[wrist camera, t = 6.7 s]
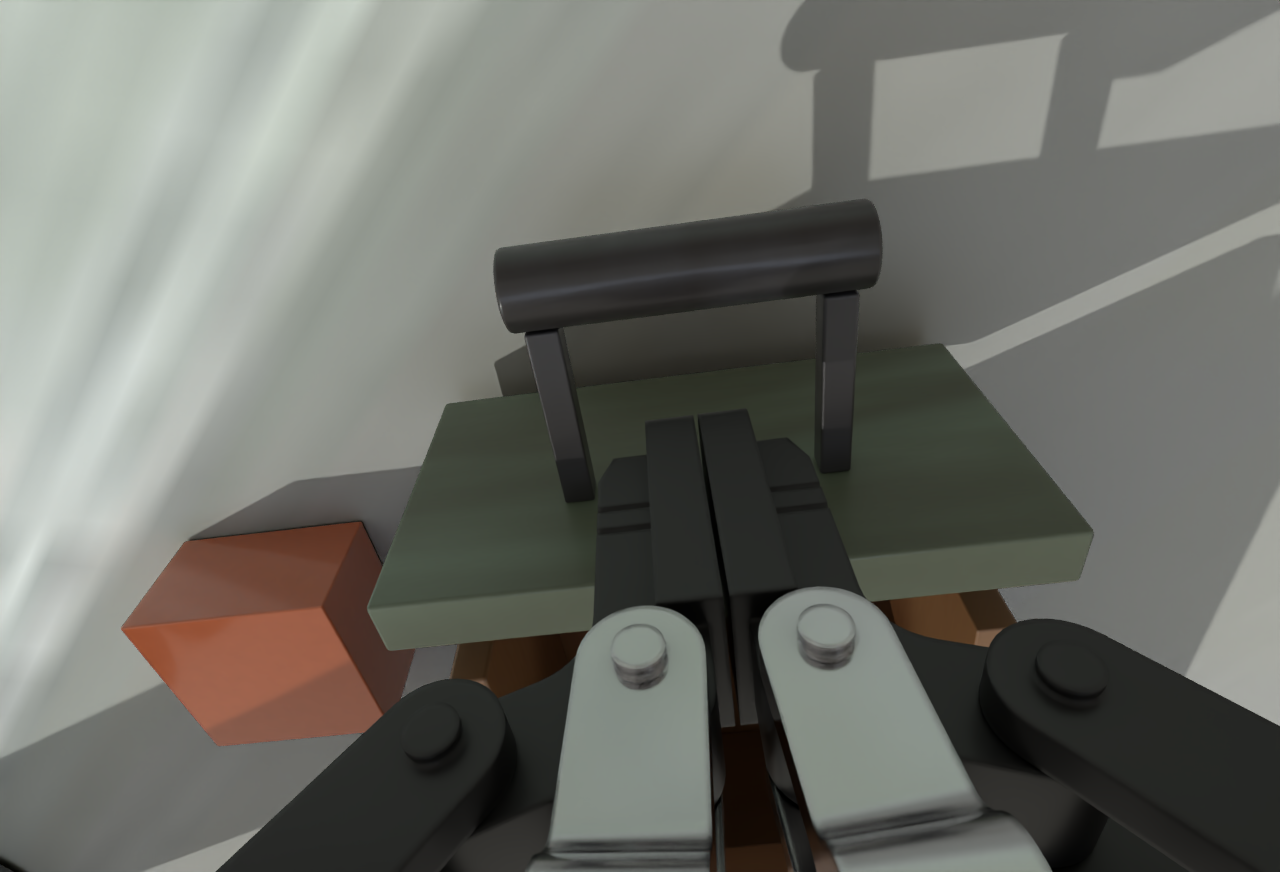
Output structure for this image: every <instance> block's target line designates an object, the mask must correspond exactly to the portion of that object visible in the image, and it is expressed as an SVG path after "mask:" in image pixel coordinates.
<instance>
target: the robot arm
mask: <svg viewBox="0 0 1280 872" xmlns="http://www.w3.org/2000/svg"><path fill="white" fill-rule="evenodd" d="M697 417H698V429H699V439H700V449H701V458H700V452H699V446H698V440H697V434H696V427H695V421H694V416H693V415H687V416H679V417H671V418H663V419H655V420H647V421H645V434H646V452H647V455H638V456H630V457H622V458H614V459H613V460H612V462H611V463H610V465H609V466H608V468H607V470H606V471H605V473H604V474H603V476H602V477H601V479H600V481H599V482H598V513H597V535H596V561H595V588H594V615H593V624H592V628H591V629H590V630H589V631H588V632H587V634H586V635H585V637H584V638H583V640H582V641H581V643H580V645H579V648H578V650H577V654H576V656H575V657H574V658H573V659H572V660H571V661H570V662H569V663H568V664H567V665H565V666H564V667H563V668H562V669H560V670H559V671H557V672H556V673H554V674H553V675H551V676H549V677H547V678H545V679H543V680H541V681H539V682H536V683H534V684H531V685H529V686H526V687H524V688H522V689H519V690H517V691H514V692H512V693H509V694H507V695H504V696H502V697H499V698H497V697H496V695H495V694H494V693H493V692H492V691H491V690H490V689H489V688H487V687H486V686H484V685H482V684H480V683H478V682H475V681H472V680H468V679H445V680H440V681H436V682H433V683H430V684H427V685H424V686H422V687H420V688H418V689H416V690H414V691H412V692H411V693H409V694H408V695H406V696H405V697H403V698H402V699H401V700H399V701H398V702H397V703H396V704H395V705H393V706H392V707H391V708H390V709H389V710H388V711H387V712H386V713H385V714H384V715H383V716H381V717H380V718H379V719H378V720H377V721H376V722H375V723H374V724H373V725H372V726H371V727H370V728H369V729H368V730H367V731H365V732H364V733H363V734H362V735H361V736H360V737H359V738H358V739H357V740H356V741H355V742H354V743H353V744H352V745H351V746H349V747H348V748H347V749H346V750H345V751H344V752H343V753H342V754H341V755H340V756H339V757H338V758H337V759H336V760H334V761H333V762H332V763H331V764H330V765H329V766H328V767H327V768H326V769H325V770H324V771H323V772H322V773H321V774H320V775H318V776H317V777H316V778H315V779H314V780H313V781H312V782H311V783H310V784H309V785H308V786H307V787H306V788H305V789H304V790H302V791H301V792H300V793H299V794H298V795H297V796H296V797H295V798H294V799H293V800H292V801H291V802H290V803H289V804H287V805H286V806H285V807H284V808H283V809H282V810H281V811H280V812H279V813H278V814H277V815H276V816H275V817H274V818H273V819H271V820H270V821H269V822H268V823H267V824H266V825H265V826H264V827H263V828H262V829H261V830H260V831H259V832H258V833H256V834H255V835H254V836H253V837H252V838H251V839H250V840H249V841H248V842H247V843H246V844H245V845H244V846H243V847H242V848H240V849H239V850H238V851H237V852H236V853H235V854H234V855H233V856H232V857H231V858H230V859H229V860H228V861H227V862H226V863H224V864H223V865H222V866H221V867H220V868H219V869H218V870H217V871H216V872H727V866H726V846H725V825H724V804H723V791H722V790H723V787H724V784H725V777H726V770H725V758H724V749H723V740H722V731H721V728H722V727H732V726H735V717H734V707H733V696H732V685H731V674H730V664H729V655H730V661H731V668H732V674H733V680H734V687H735V693H736V699H737V705H738V712H739V718H740V724H741V725H748V724H758V723H759V729H760V734H761V740H762V745H763V751H764V756H765V770H766V784H767V790H768V794H769V798H770V802H771V806H772V809H773V813H774V817H775V821H776V825H777V829H778V833H779V837H780V840H781V844H782V848H783V852H784V856H785V860H786V864H787V868H788V871H789V872H1280V726H1278V725H1276V724H1274V723H1273V722H1271V721H1269V720H1267V719H1265V718H1263V717H1261V716H1259V715H1257V714H1255V713H1253V712H1251V711H1249V710H1248V709H1246V708H1244V707H1242V706H1240V705H1238V704H1236V703H1234V702H1232V701H1230V700H1228V699H1226V698H1224V697H1222V696H1221V695H1219V694H1217V693H1215V692H1213V691H1211V690H1209V689H1207V688H1205V687H1203V686H1201V685H1199V684H1197V683H1195V682H1194V681H1192V680H1190V679H1188V678H1186V677H1184V676H1182V675H1180V674H1178V673H1176V672H1174V671H1172V670H1170V669H1169V668H1167V667H1165V666H1163V665H1161V664H1159V663H1157V662H1155V661H1153V660H1151V659H1149V658H1147V657H1145V656H1143V655H1142V654H1140V653H1138V652H1136V651H1134V650H1132V649H1130V648H1128V647H1126V646H1124V645H1122V644H1120V643H1118V642H1117V641H1115V640H1113V639H1111V638H1109V637H1107V636H1105V635H1103V634H1101V633H1099V632H1097V631H1094V630H1092V629H1090V628H1087V627H1084V626H1081V625H1078V624H1075V623H1071V622H1067V621H1062V620H1054V619H1031V620H1024V621H1021V622H1017V623H1014V624H1012V625H1010V626H1008V627H1006V628H1004V629H1003V630H1002V631H1000V632H999V633H998V634H997V635H996V636H995V637H994V639H993V640H992V642H991V643H990V646H989V647H984V646H978V645H972V644H965V643H959V642H953V641H947V640H941V639H935V638H931V637H926V636H922V635H919V634H916V633H913V632H910V631H908V630H906V629H904V628H902V627H899V626H898V625H896V624H894V623H893V622H891V621H889V620H888V619H887V617H886V616H885V615H884V614H883V612H882V611H881V610H880V609H879V608H878V607H876V606H875V605H874V604H873V603H871V602H870V601H868V600H867V599H866V597H865V596H864V594H863V592H862V590H861V588H860V586H859V583H858V581H857V578H856V576H855V573H854V570H853V568H852V565H851V563H850V560H849V557H848V555H847V552H846V550H845V547H844V544H843V542H842V539H841V536H840V534H839V531H838V529H837V526H836V523H835V521H834V518H833V516H832V513H831V510H830V508H828V504H827V500H826V497H825V495H824V492H823V490H822V487H820V483H819V479H818V476H817V474H816V471H815V469H814V466H813V463H812V461H811V458H810V456H809V455H807V454H806V453H805V452H804V451H803V450H802V449H800V448H799V447H798V446H797V445H796V444H795V443H793V442H792V441H791V440H790V439H789V438H788V437H784V438H776V439H768V440H760V441H756V438H755V434H754V431H753V427H752V424H751V420H750V417H749V413H748V410H747V408H742V409H734V410H726V411H717V412H709V413H701V414H697ZM701 459H702V464H701ZM702 468H703V470H702ZM728 649H729V653H728ZM0 872H13V871H11V870H10V869H8V868H6V867H4V866H2V865H0Z"/></svg>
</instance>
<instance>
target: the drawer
mask: <svg viewBox="0 0 1280 872" xmlns="http://www.w3.org/2000/svg"><path fill="white" fill-rule="evenodd" d="M882 250H883V246H882V232H881V225H880V221H879V217H878V214H877V211H876V208H875V206H874V204H873V203H872V201H870V200H868V199H859V200H851V201H844V202H837V203H829V204H822V205H814V206H807V207H800V208H792V209H785V210H777V211H770V212H763V213H755V214H748V215H740V216H733V217H725V218H718V219H711V220H703V221H696V222H688V223H681V224H674V225H666V226H659V227H651V228H644V229H637V230H629V231H622V232H614V233H607V234H600V235H592V236H585V237H577V238H570V239H562V240H555V241H548V242H540V243H533V244H525V245H518V246H511V247H503V248H499V249H498V250H497V251H496V252H495V256H494V264H493V273H494V285H495V292H496V297H497V302H498V306H499V310H500V313H501V316H502V319H503V321H504V324H505V325H506V327H507V329H508V330H509V331H510V332H511V333H523V332H526V333H525V342H526V346H527V350H528V354H529V358H530V362H531V366H532V370H533V374H534V378H535V382H536V386H537V390H538V393H530V394H522V395H514V396H506V397H497V398H489V399H481V400H473V401H465V402H457V403H449V404H447V405H446V406H445V409H444V411H443V414H442V416H441V419H440V421H439V424H438V427H437V429H436V432H435V434H434V437H433V439H432V442H431V444H430V447H429V450H428V452H427V455H426V457H425V460H424V462H423V465H422V467H421V470H420V473H419V475H418V478H417V480H416V483H415V485H414V488H413V490H412V493H411V496H410V498H409V501H408V503H407V506H406V508H405V511H404V513H403V516H402V519H401V521H400V524H399V526H398V529H397V531H396V534H395V537H394V539H393V542H392V544H391V547H390V549H389V552H388V554H387V557H386V560H385V562H384V565H383V567H382V570H381V572H380V575H379V577H378V580H377V583H376V585H375V588H374V590H373V593H372V595H371V598H370V600H369V603H368V606H367V611H368V613H369V615H370V617H371V619H372V621H373V623H374V625H375V627H376V629H377V631H378V633H379V635H380V637H381V639H382V641H383V642H384V644H385V646H386V648H387V649H388V650H390V651H394V650H404V649H414V648H424V647H434V646H443V645H453V644H458V645H457V649H456V654H455V658H454V662H453V666H452V670H451V675H450V679H468V680H472V681H475V682H478V683H480V684H482V685H484V686H486V687H487V688H489V689H490V690H491V691H492V692H493V693H494V694H495V695H496V697H497V698H499V697H502V696H504V695H507V694H509V693H512V692H514V691H517V690H519V689H522V688H524V687H526V686H529V685H531V684H534V683H536V682H539V681H541V680H543V679H545V678H547V677H549V676H551V675H553V674H554V673H556V672H557V671H559V670H560V669H562V668H563V667H564V666H565V665H567V664H568V663H569V662H570V661H571V660H572V659H573V658H574V657H575V656H576V654H577V650H578V648H579V645H580V643H581V641H582V640H583V638H584V637H585V635H586V634H587V632H588V631H589V630H590V629H591V628H592V624H593V615H594V588H595V561H596V535H597V513H598V482H599V481H600V479H601V477H602V476H603V474H604V473H605V471H606V470H607V468H608V466H609V465H610V463H611V462H612V460H613V459H614V458H622V457H630V456H638V455H647V452H646V434H645V421H647V420H655V419H663V418H671V417H679V416H687V415H693V416H694V421H695V427H696V434H697V440H698V446H699V452H700V458H701V449H700V439H699V429H698V417H697V414H701V413H709V412H717V411H726V410H734V409H742V408H747V410H748V413H749V417H750V420H751V424H752V427H753V431H754V434H755V438H756V441H760V440H768V439H776V438H784V437H788V438H789V439H790V440H791V441H792V442H793V443H795V444H796V445H797V446H798V447H799V448H800V449H802V450H803V451H804V452H805V453H806V454H807V455H809V456H810V458H811V461H812V463H813V466H814V469H815V471H816V474H817V476H818V479H819V483H820V487H822V490H823V492H824V495H825V497H826V500H827V504H828V508H830V510H831V513H832V516H833V518H834V521H835V523H836V526H837V529H838V531H839V534H840V536H841V539H842V542H843V544H844V547H845V550H846V552H847V555H848V557H849V560H850V563H851V565H852V568H853V570H854V573H855V576H856V578H857V581H858V583H859V586H860V588H861V590H862V592H863V594H864V596H865V597H866V599H867V600H868V601H870V602H871V603H873V604H874V605H875V606H876V607H878V608H879V609H880V610H881V611H882V612H883V614H884V615H885V616H886V617H887V619H888V620H889V621H891V622H893V623H894V624H896V625H898V626H899V627H902V628H904V629H906V630H908V631H910V632H913V633H916V634H919V635H922V636H926V637H931V638H935V639H941V640H947V641H953V642H959V643H965V644H972V645H978V646H984V647H989V646H990V643H991V642H992V640H993V639H994V637H995V636H996V635H997V634H998V633H999V632H1000V631H1002V630H1003V629H1004V628H1006V627H1008V626H1010V625H1012V624H1014V623H1017V622H1016V620H1015V618H1014V617H1013V615H1012V613H1011V611H1010V610H1009V608H1008V606H1007V605H1006V603H1005V601H1004V599H1003V598H1002V596H1001V594H1000V593H999V591H998V589H1002V588H1011V587H1021V586H1031V585H1041V584H1050V583H1060V582H1070V581H1076V580H1078V579H1079V578H1080V576H1081V573H1082V570H1083V567H1084V564H1085V561H1086V557H1087V554H1088V551H1089V548H1090V545H1091V542H1092V539H1093V536H1094V532H1093V529H1092V528H1091V527H1090V525H1089V524H1088V523H1087V522H1086V520H1085V519H1084V518H1083V517H1082V515H1081V514H1080V513H1079V512H1078V511H1077V509H1076V508H1075V507H1074V506H1073V504H1072V503H1071V502H1070V501H1069V499H1068V498H1067V497H1066V496H1065V494H1064V493H1063V492H1062V491H1061V490H1060V488H1059V487H1058V486H1057V485H1056V483H1055V482H1054V481H1053V480H1052V478H1051V477H1050V476H1049V475H1048V473H1047V472H1046V471H1045V470H1044V468H1043V467H1042V466H1041V465H1040V464H1039V462H1038V461H1037V460H1036V459H1035V457H1034V456H1033V455H1032V454H1031V452H1030V451H1029V450H1028V449H1027V447H1026V446H1025V445H1024V444H1023V443H1022V441H1021V440H1020V439H1019V438H1018V436H1017V435H1016V434H1015V433H1014V431H1013V430H1012V429H1011V428H1010V426H1009V425H1008V424H1007V423H1006V422H1005V420H1004V419H1003V418H1002V417H1001V415H1000V414H999V413H998V412H997V410H996V409H995V408H994V407H993V405H992V404H991V403H990V402H989V401H988V399H987V398H986V397H985V396H984V394H983V393H982V392H981V391H980V389H979V388H978V387H977V386H976V384H975V383H974V382H973V381H972V380H971V378H970V377H969V376H968V375H967V373H966V372H965V371H964V370H963V368H962V367H961V366H960V365H959V363H958V362H957V361H956V360H955V359H954V357H953V356H952V355H951V354H950V352H949V351H948V350H947V349H946V347H945V346H944V345H943V344H940V343H938V344H930V345H922V346H914V347H906V348H898V349H889V350H881V351H873V352H865V353H857V337H858V317H859V297H860V295H859V293H858V291H857V290H860V289H868V288H871V287H873V286H874V285H875V284H876V283H877V281H878V278H879V275H880V270H881V265H882ZM813 295H816V359H808V360H800V361H791V362H783V363H775V364H767V365H759V366H751V367H742V368H734V369H726V370H718V371H710V372H702V373H693V374H685V375H677V376H669V377H661V378H653V379H644V380H636V381H628V382H620V383H612V384H604V385H595V386H587V387H579V388H576V385H575V381H574V376H573V371H572V366H571V362H570V357H569V352H568V348H567V343H566V338H565V333H564V329H563V327H570V326H578V325H586V324H593V323H601V322H609V321H617V320H625V319H633V318H640V317H648V316H656V315H664V314H672V313H680V312H687V311H695V310H703V309H711V308H719V307H727V306H734V305H742V304H750V303H758V302H766V301H774V300H781V299H789V298H797V297H805V296H813ZM701 464H702V459H701ZM702 470H703V468H702ZM728 653H729V649H728ZM729 664H730V674H731V685H732V696H733V707H734V717H735V726H732V727H722V728H721V731H722V740H723V749H724V758H725V770H726V777H725V784H724V787H723V790H722V791H723V804H724V825H725V846H726V847H733V846H745V845H757V844H769V843H781V840H780V837H779V833H778V829H777V825H776V821H775V817H774V813H773V809H772V806H771V802H770V798H769V794H768V790H767V784H766V770H765V756H764V751H763V745H762V740H761V734H760V729H759V723H758V724H748V725H741V724H740V718H739V712H738V705H737V699H736V693H735V687H734V680H733V674H732V668H731V661H730V655H729Z"/></svg>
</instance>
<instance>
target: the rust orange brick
mask: <svg viewBox="0 0 1280 872" xmlns="http://www.w3.org/2000/svg"><path fill="white" fill-rule="evenodd" d="M382 567H383V566H382V564H381V562H380V560H379V558H378V556H377V554H376V551H375V549H374V547H373V545H372V543H371V541H370V539H369V537H368V535H367V532H366V530H365V528H364V526H363V524H362V522H360V521H359V522H350V523H342V524H333V525H324V526H315V527H306V528H297V529H289V530H280V531H271V532H262V533H253V534H245V535H236V536H227V537H218V538H209V539H200V540H192V541H185V542H184V543H183V545H182V546H181V547H180V549H179V550H178V551H177V553H176V554H175V555H174V557H173V558H172V559H171V561H170V562H169V563H168V565H167V566H166V567H165V569H164V570H163V571H162V573H161V574H160V576H159V577H158V578H157V580H156V581H155V582H154V584H153V585H152V586H151V588H150V589H149V590H148V592H147V593H146V594H145V596H144V597H143V598H142V600H141V601H140V602H139V604H138V605H137V606H136V608H135V609H134V611H133V612H132V613H131V615H130V616H129V617H128V619H127V620H126V621H125V623H124V624H123V625H122V627H121V630H122V631H123V632H124V634H125V635H126V636H127V637H128V639H129V640H130V641H131V642H132V643H133V645H134V646H135V647H136V648H137V649H138V651H139V652H140V653H141V654H142V655H143V657H144V658H145V659H146V660H147V661H148V663H149V664H150V665H151V666H152V668H153V669H154V670H155V671H156V672H157V674H158V675H159V676H160V677H161V678H162V680H163V681H164V682H165V683H166V684H167V686H168V687H169V688H170V689H171V690H172V692H173V693H174V694H175V695H176V697H177V698H178V699H179V700H180V701H181V703H182V704H183V705H184V706H185V707H186V709H187V710H188V711H189V712H190V713H191V715H192V716H193V717H194V718H195V720H196V721H197V722H198V723H199V724H200V726H201V727H202V728H203V729H204V730H205V732H206V733H207V734H208V735H209V736H210V738H211V739H212V740H213V741H214V742H215V744H216V745H217V746H229V745H240V744H250V743H261V742H271V741H282V740H292V739H303V738H313V737H324V736H334V735H344V734H355V733H364V732H365V731H367V730H368V729H369V728H370V727H371V726H372V725H373V724H374V723H375V722H376V721H377V720H378V719H379V718H380V717H381V716H383V715H384V714H385V713H386V712H387V711H388V710H389V709H390V708H391V707H392V706H393V705H395V704H396V703H397V702H398V701H399V700H401V697H402V693H403V690H404V687H405V683H406V680H407V677H408V673H409V670H410V667H411V663H412V660H413V656H414V653H415V650H416V648H414V649H404V650H394V651H390V650H388V649H387V648H386V646H385V644H384V642H383V641H382V639H381V637H380V635H379V633H378V631H377V629H376V627H375V625H374V623H373V621H372V619H371V617H370V615H369V613H368V611H367V606H368V603H369V600H370V598H371V595H372V593H373V590H374V588H375V585H376V583H377V580H378V577H379V575H380V572H381V570H382Z"/></svg>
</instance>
